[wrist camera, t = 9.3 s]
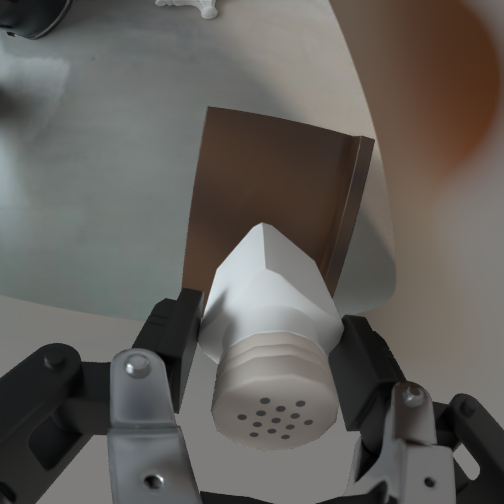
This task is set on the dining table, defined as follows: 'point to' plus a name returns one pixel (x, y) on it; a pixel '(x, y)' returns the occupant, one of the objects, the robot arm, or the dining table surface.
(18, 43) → the dining table surface
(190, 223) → the wooden table
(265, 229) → the salt shaker
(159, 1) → the acanthus leaf ornament
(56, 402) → the robot arm
